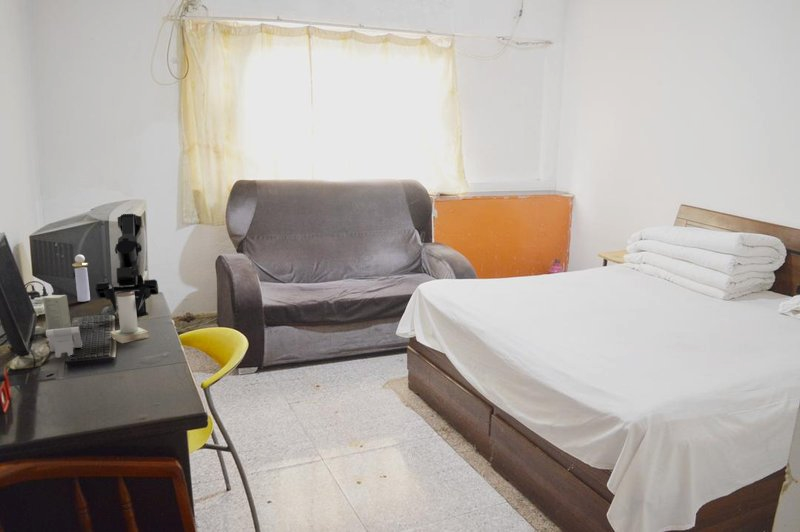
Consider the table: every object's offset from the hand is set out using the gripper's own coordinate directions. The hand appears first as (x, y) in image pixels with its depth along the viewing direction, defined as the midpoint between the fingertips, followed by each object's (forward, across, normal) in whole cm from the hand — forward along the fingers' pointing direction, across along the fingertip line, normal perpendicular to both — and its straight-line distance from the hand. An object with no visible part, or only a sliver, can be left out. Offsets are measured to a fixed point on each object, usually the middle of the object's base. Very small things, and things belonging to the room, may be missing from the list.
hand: (126, 310), depth 194 cm
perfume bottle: (-35, -24, +50) cm, 65 cm away
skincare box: (-6, -25, +20) cm, 32 cm away
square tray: (+6, 0, +8) cm, 10 cm away
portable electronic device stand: (+14, -17, 0) cm, 22 cm away
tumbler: (+4, 0, +6) cm, 8 cm away
